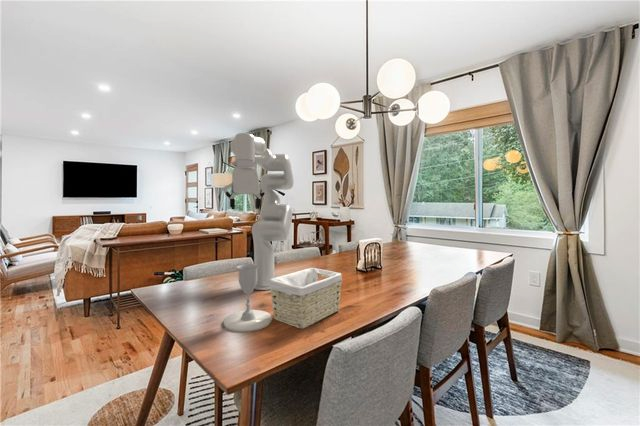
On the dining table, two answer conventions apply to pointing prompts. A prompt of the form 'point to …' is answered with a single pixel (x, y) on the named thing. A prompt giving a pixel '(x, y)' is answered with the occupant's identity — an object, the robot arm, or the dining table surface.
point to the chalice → (248, 287)
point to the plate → (238, 325)
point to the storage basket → (305, 296)
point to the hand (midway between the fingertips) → (245, 209)
